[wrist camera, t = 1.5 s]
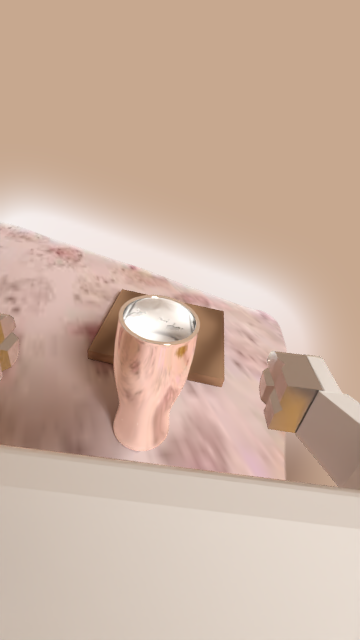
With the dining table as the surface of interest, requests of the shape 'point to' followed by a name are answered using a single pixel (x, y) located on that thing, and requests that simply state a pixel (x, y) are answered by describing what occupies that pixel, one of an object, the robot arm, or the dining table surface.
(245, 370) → the dining table surface
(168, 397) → the beer glass
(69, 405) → the dining table surface
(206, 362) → the walnut board
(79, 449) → the dining table surface
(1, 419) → the dining table surface
